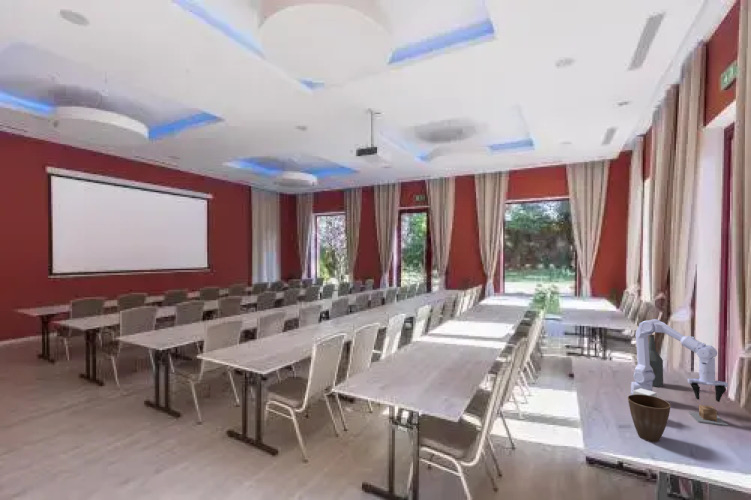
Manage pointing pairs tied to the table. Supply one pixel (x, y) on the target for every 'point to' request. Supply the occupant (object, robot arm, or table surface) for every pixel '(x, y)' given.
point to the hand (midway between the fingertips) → (707, 400)
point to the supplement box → (645, 392)
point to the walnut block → (708, 413)
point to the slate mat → (701, 420)
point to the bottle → (655, 363)
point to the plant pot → (649, 416)
